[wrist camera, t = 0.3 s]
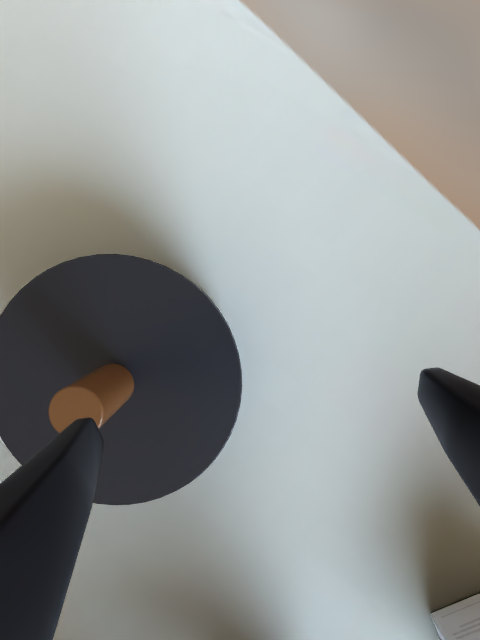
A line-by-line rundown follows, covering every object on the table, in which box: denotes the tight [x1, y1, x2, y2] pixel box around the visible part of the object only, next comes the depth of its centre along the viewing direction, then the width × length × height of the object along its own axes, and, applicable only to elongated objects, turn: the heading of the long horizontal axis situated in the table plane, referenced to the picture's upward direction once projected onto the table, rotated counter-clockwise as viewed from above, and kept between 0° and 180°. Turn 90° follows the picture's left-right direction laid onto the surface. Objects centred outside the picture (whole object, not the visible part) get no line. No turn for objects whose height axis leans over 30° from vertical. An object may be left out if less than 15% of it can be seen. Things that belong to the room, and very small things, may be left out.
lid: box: [0, 254, 242, 505], centre depth 17 cm, size 15×15×6 cm
